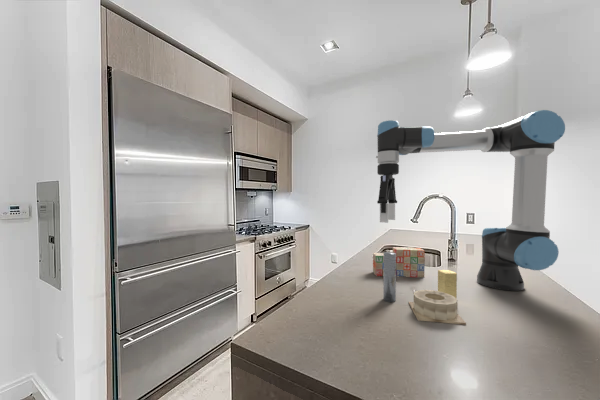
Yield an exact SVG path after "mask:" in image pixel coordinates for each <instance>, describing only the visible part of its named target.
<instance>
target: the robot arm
mask: <svg viewBox="0 0 600 400" xmlns="http://www.w3.org/2000/svg"><path fill="white" fill-rule="evenodd" d="M565 132H566V124H565V121H564V119H563V118H562V117H561V116H560V115H558V113H557V112H555V111H552V110H548V109H541V110H536V111H533V112H529V113H527V114H525V115H524V116H523V115H522V116H521V117H518V118H516V119H514V120H511V121H508V122H506V123H504V124H501V125H498V126H492V127H485V128H483V129H482V130H473V131H471V130H470V131H459V132H458V131H455V132H441V133H440V132H439V133H437V132H436V133H435V129H434V128H433V127H432V126H424V125H422V126H400V123H399V121H398V120H394V119H393V120H392V119H391V120H389V119H388V120H385V121H381V122H380V123H379V124H378V126H377V135H376V137H377V155H376V157H375V158H376V159H377V164H378V165H377V175H379V176H380V184H379V192H378V200H377V201H376V202H377V204H378V205H379V223H387V224H388V223H389V220H390V221H391V220H392V221H395V220H396V204H397V203H398V200H397V198H396V197H397V196H396V195H397V194H396V185H395V181H396V180H395V177H393V176H396V175H399V172H400V171H399V170H400V165H399V164H398V163H400V156H406V155H408V154H421V153H440V152H441V153H442V152H462V151H481V152H482V153H501V152H503V153H508V152H509V154H510V155H511V156H513V157H514V171H513V173H514V175H513V190H512V191H513V192H512V208H511V211H512V212H511V223H510V224H508V226H506V227H486V228H483V230H482V231H481V243H482V244H481V245H482V246H481V255H482V256H481V265H480V268H479V270H478V273H477V275H476V282H477V283H478V284H480V285H482V286H484V287H488V288H492V289H496V290H503V291H511V292H512V291H513V292H514V291H515V292H516V291H523V290H524V289H525V282H524V281H525V280H523V276H522V274H521V272H520V269H519V267H520V268H522V269H525V270H526V269H527V270H530V271H542V270H546V269H548V268H550V267H551V266H553V265H554V264H555V263H556V262H557V260H558V258H559V247H558V245H557V244H556V243H555V241H553V240H552V239H550V236H551V235H550V234H551V231H550V230H549V229H548V228H546V227H545V214H546V195H547V177H548V175H547V174H548V158H549V157H548V156H549V155H551V154H552V153H553V152H555V143H556V142H557V141H559V140H560V139H561V138H562V137H563V136H564V134H565Z"/></svg>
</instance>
